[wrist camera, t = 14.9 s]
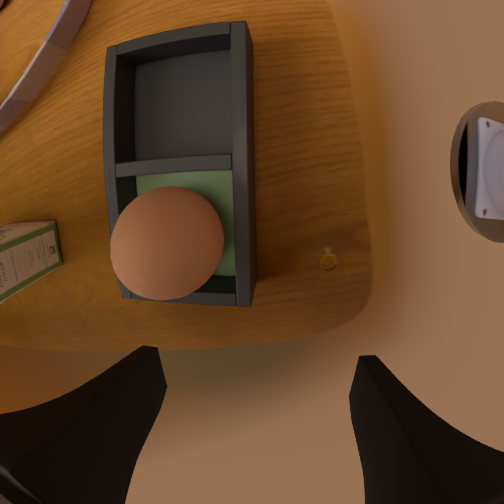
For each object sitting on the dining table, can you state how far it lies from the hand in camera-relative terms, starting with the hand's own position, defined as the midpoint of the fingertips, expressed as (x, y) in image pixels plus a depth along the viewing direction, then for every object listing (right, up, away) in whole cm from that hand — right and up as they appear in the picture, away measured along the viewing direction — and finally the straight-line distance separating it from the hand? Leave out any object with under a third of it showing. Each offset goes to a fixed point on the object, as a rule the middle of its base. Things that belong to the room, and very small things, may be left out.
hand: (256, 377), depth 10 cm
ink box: (-19, +5, +10) cm, 22 cm away
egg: (-4, +6, +8) cm, 11 cm away
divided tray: (-4, +10, +7) cm, 13 cm away
